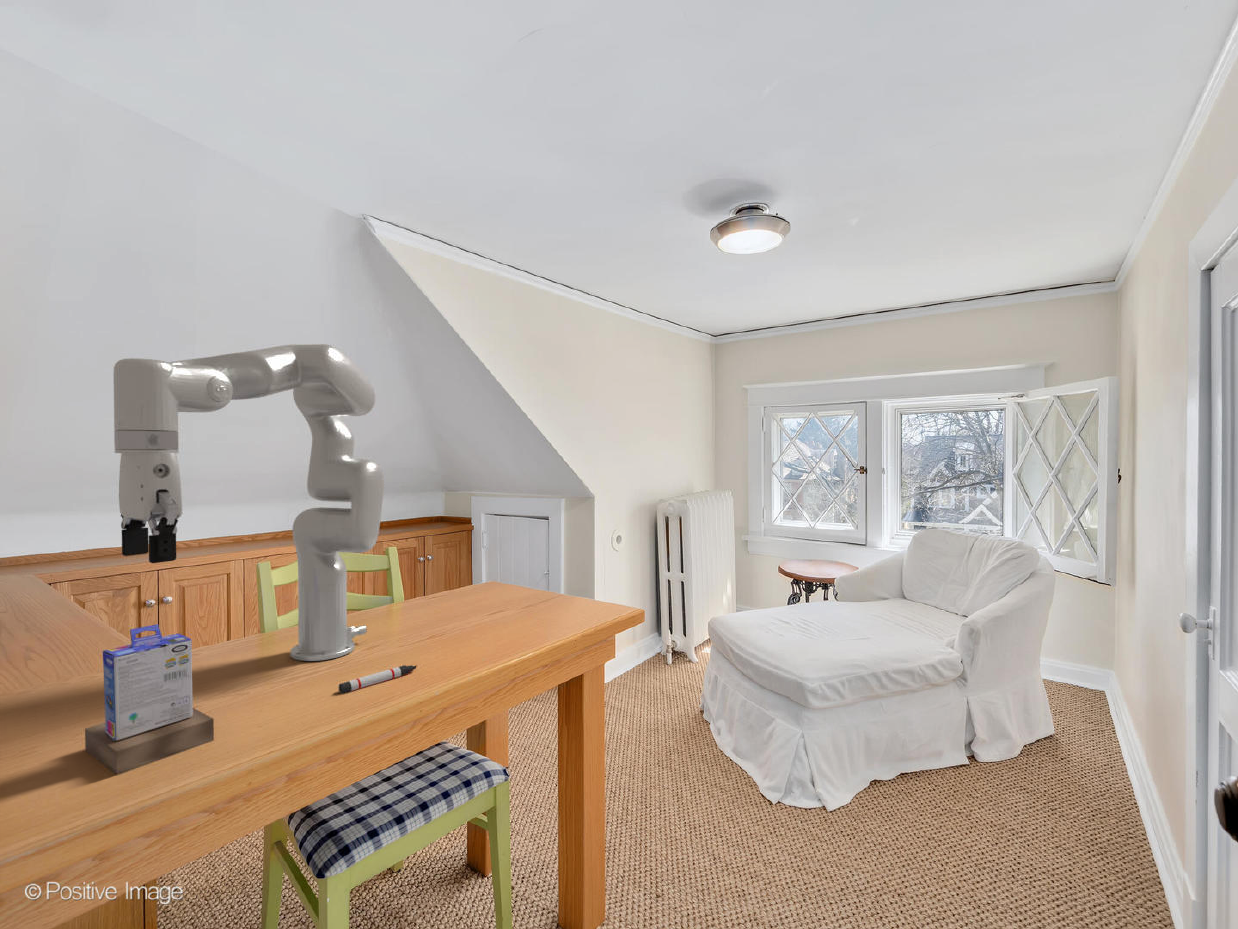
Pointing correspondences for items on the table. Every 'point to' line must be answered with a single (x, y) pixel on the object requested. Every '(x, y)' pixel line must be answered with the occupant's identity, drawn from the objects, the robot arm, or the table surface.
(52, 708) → the table surface
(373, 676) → the marker
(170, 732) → the walnut block
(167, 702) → the ink cartridge box
